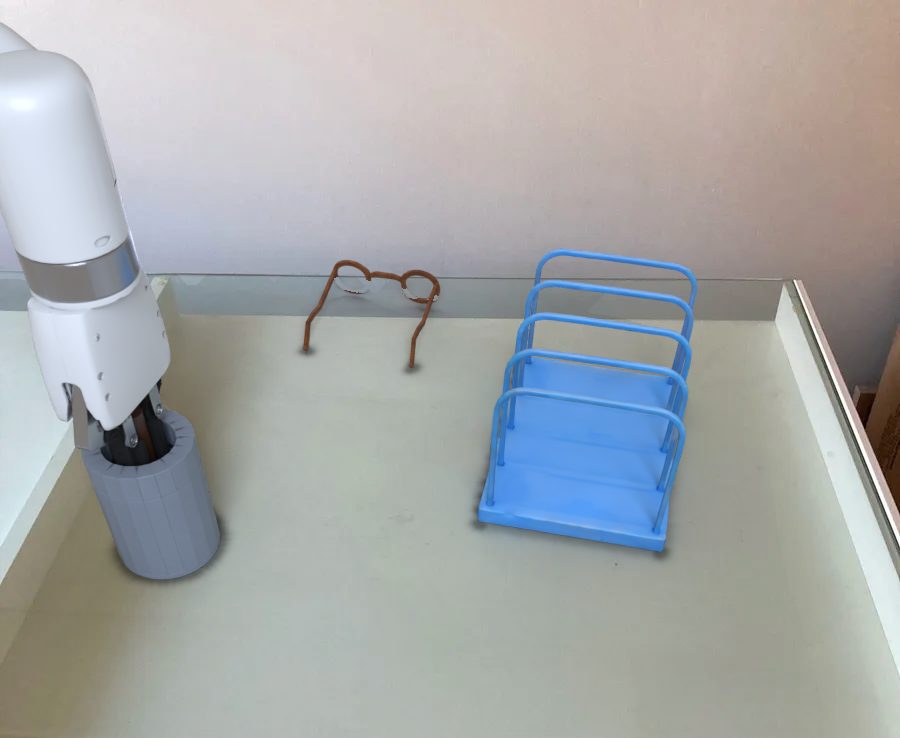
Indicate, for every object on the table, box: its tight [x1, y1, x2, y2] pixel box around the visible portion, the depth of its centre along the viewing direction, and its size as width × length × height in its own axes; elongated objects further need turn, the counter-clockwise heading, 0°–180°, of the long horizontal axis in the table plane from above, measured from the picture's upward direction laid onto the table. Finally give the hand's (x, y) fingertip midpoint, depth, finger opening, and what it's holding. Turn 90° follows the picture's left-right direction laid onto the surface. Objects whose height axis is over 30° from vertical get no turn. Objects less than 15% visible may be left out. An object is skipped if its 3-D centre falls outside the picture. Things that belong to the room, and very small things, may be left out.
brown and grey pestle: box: [131, 406, 157, 462], centre depth 77 cm, size 4×4×14 cm
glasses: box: [302, 259, 441, 369], centre depth 104 cm, size 13×13×5 cm
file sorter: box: [477, 248, 698, 553], centre depth 86 cm, size 25×17×15 cm
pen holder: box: [80, 408, 221, 580], centre depth 79 cm, size 9×9×12 cm
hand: (144, 463), depth 76 cm, fingers closed on brown and grey pestle, 2 cm apart
